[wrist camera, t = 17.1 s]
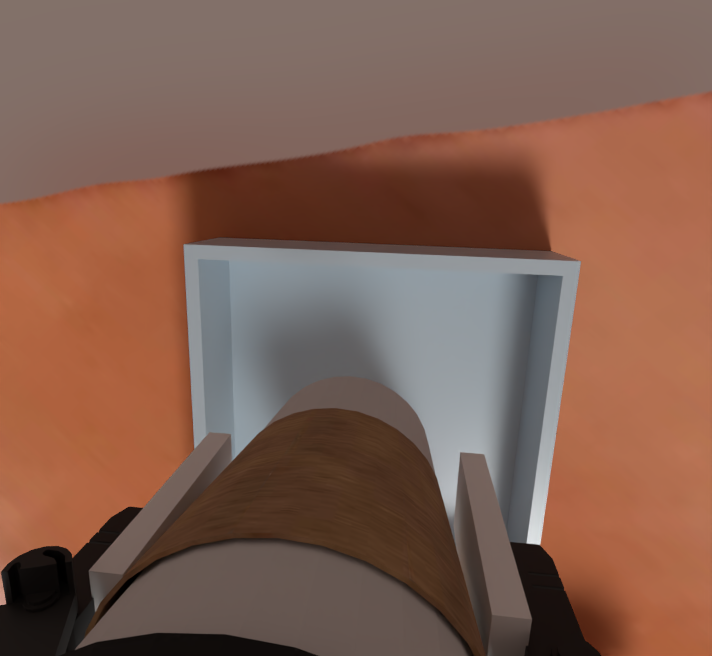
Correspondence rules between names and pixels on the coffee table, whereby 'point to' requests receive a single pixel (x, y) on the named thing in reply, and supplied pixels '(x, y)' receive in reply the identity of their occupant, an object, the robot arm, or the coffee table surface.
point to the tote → (391, 347)
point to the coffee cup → (305, 546)
